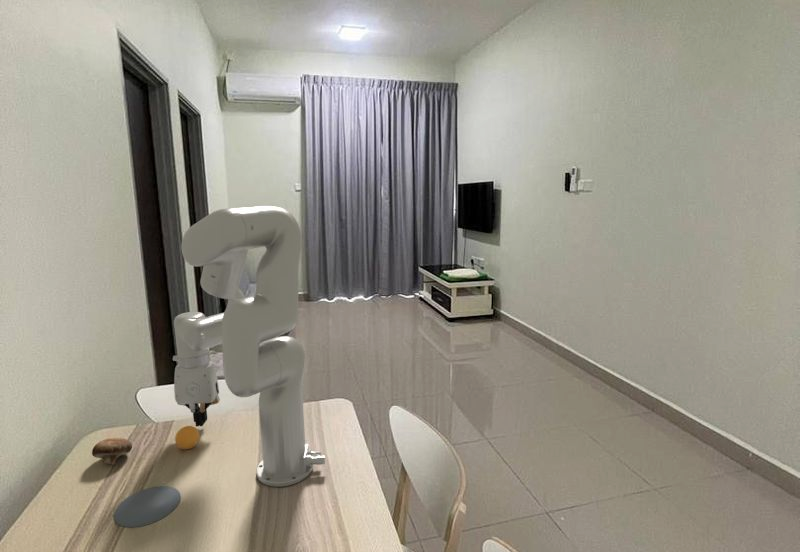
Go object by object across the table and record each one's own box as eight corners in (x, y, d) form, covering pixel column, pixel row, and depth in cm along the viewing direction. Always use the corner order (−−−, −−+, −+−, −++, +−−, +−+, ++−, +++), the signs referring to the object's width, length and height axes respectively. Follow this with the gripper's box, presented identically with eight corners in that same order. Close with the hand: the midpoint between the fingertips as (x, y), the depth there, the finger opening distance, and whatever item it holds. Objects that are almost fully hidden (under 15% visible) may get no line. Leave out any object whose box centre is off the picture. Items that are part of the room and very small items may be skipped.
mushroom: (108, 463, 103) (108, 434, 105) (82, 471, 105) (84, 443, 107) (139, 461, 110) (139, 434, 112) (114, 468, 112) (115, 442, 114)
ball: (203, 441, 117) (201, 421, 116) (195, 453, 112) (193, 433, 111) (181, 441, 117) (179, 422, 116) (172, 454, 111) (170, 433, 110)
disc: (189, 485, 100) (189, 484, 100) (165, 525, 88) (165, 524, 88) (133, 487, 99) (133, 487, 99) (101, 528, 87) (100, 527, 87)
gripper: (158, 366, 115) (166, 432, 119) (218, 364, 116) (224, 430, 119) (171, 355, 122) (178, 417, 126) (227, 353, 123) (233, 415, 127)
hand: (201, 423), depth 123 cm, fingers closed
